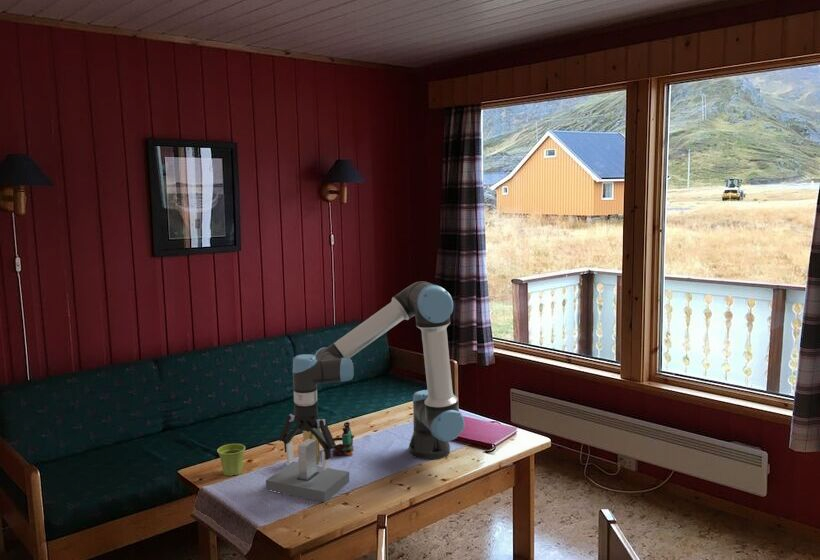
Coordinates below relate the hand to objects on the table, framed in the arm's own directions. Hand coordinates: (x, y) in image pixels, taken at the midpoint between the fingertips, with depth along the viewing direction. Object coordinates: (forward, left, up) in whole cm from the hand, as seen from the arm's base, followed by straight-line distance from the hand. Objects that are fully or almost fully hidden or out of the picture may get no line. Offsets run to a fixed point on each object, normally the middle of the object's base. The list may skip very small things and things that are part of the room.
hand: (307, 465), depth 223 cm
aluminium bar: (0, 0, -7) cm, 7 cm away
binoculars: (+4, -29, -8) cm, 30 cm away
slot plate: (0, 0, -7) cm, 7 cm away
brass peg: (+9, -17, -7) cm, 21 cm away
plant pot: (+30, +1, -7) cm, 31 cm away
